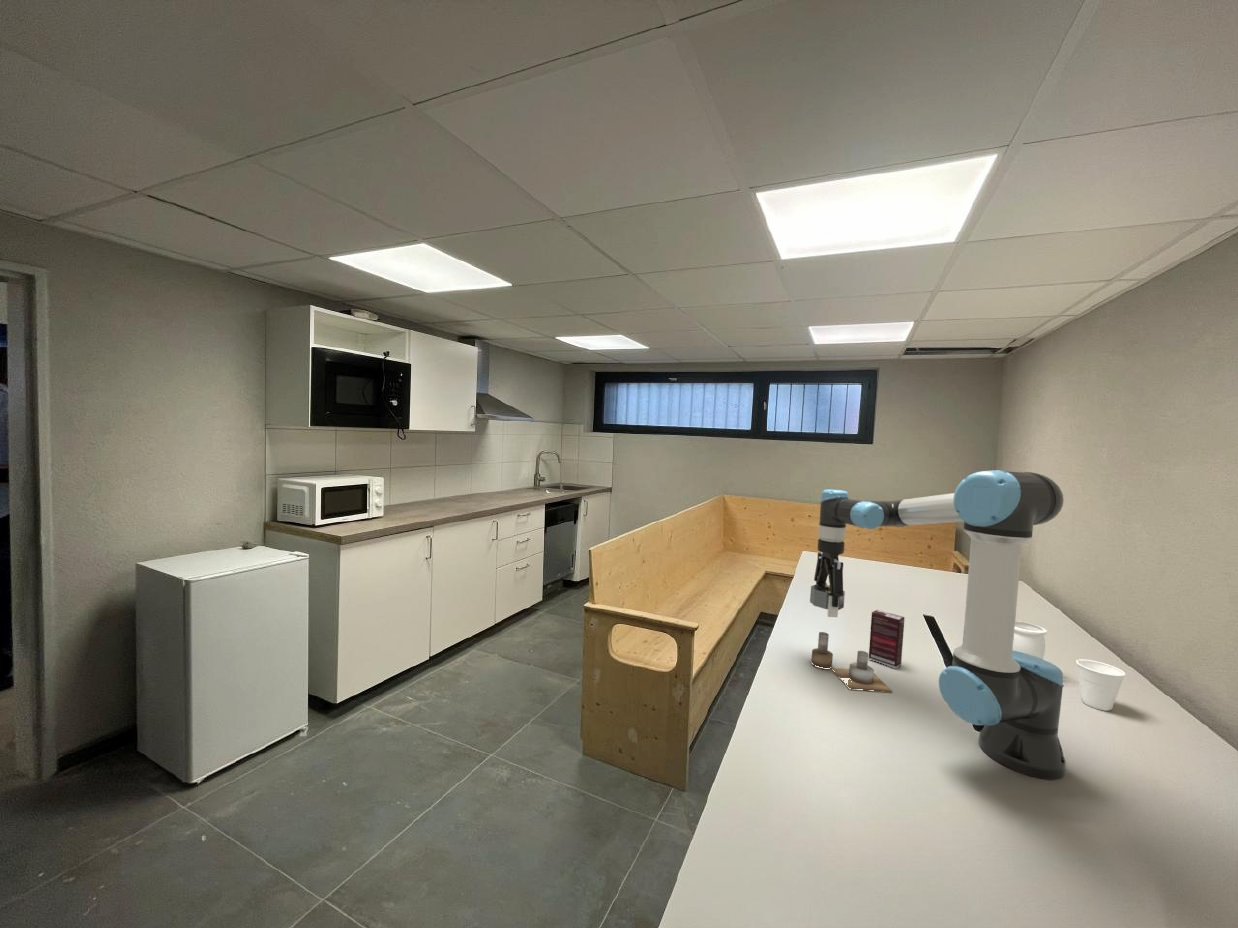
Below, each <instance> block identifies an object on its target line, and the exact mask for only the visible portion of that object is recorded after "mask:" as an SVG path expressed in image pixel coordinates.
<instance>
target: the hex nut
mask: <svg viewBox="0 0 1238 928" xmlns="http://www.w3.org/2000/svg"><path fill="white" fill-rule="evenodd" d="M828 594H831V593H830V584H829V585H828V584H827V585H819V584H816V583H815V584H814V585H810V596H809V597H810V598H809V603H811V605H813V606H814V607H817V608H820V609H825V610H828V602H829V595H828ZM845 594H846V592H845V590H843V596H839V605H838V611H839V610H842V609H844V607H845V596H846V595H845Z"/></svg>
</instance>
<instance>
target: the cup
mask: <svg viewBox="0 0 1238 928" xmlns="http://www.w3.org/2000/svg"><path fill="white" fill-rule="evenodd" d="M1075 663H1076V665H1077V675H1078V679H1079V681H1078V682H1079V683H1078V684H1079V690H1080V698H1081V699H1080V700H1081V701H1082V703H1083V704H1084V705H1086V706H1088V707H1090V708H1092V709H1095V710H1098V711H1099V710H1100V711H1104V712H1105V711H1106V712H1109V711H1111V710H1113V708H1114V704H1115V702H1116V698H1117V696H1118V693H1119V691H1120V688H1121V686H1122V684H1123V680H1124V677H1125V676H1126V675H1127V674H1126V673H1125V671H1124V670H1122V669H1121V668H1118V667H1116V666H1113V665H1111V664H1107V663H1104V662H1100V661H1096V660H1092V659H1085V658H1083V659H1082V658H1081V659H1076V660H1075Z"/></svg>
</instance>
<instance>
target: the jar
mask: <svg viewBox="0 0 1238 928" xmlns="http://www.w3.org/2000/svg"><path fill="white" fill-rule="evenodd" d="M1047 633H1048V632H1047V629H1045V628H1044V627H1041V626H1039V625H1036V624H1033V623H1029V622H1025V621H1019V620H1015V629H1014V641H1013V651H1018V652H1022V653H1025V654H1029V655H1032V656H1035V657H1038V658H1040V659H1043V658H1044V656H1045V653H1046V640H1045V636H1046V635H1047ZM1043 660H1044V659H1043Z"/></svg>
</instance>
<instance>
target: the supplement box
mask: <svg viewBox="0 0 1238 928" xmlns="http://www.w3.org/2000/svg"><path fill="white" fill-rule="evenodd" d="M904 630H905V616H902V615H898V614H896V613H895V614H894V613H889V612H887V611H883V610H879V609H876V610H874V611H871V619H870V633H869V634H870V635H869V647H868V648H869V649H868V660H869V659H871V660H874V661H876V662H875V663H877V662H879V663H878V664H880V663H882V664H881V665H883V664H884V665H883V666H885V665H887V666H886V667H888V666H889V667H888V668H891V667H892V668H891V669H895V670H898V669H899V668H900V667H901V666H902V659H903V643H904ZM871 660H870V661H871ZM874 661H873V662H874ZM899 666H900V667H899Z"/></svg>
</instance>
